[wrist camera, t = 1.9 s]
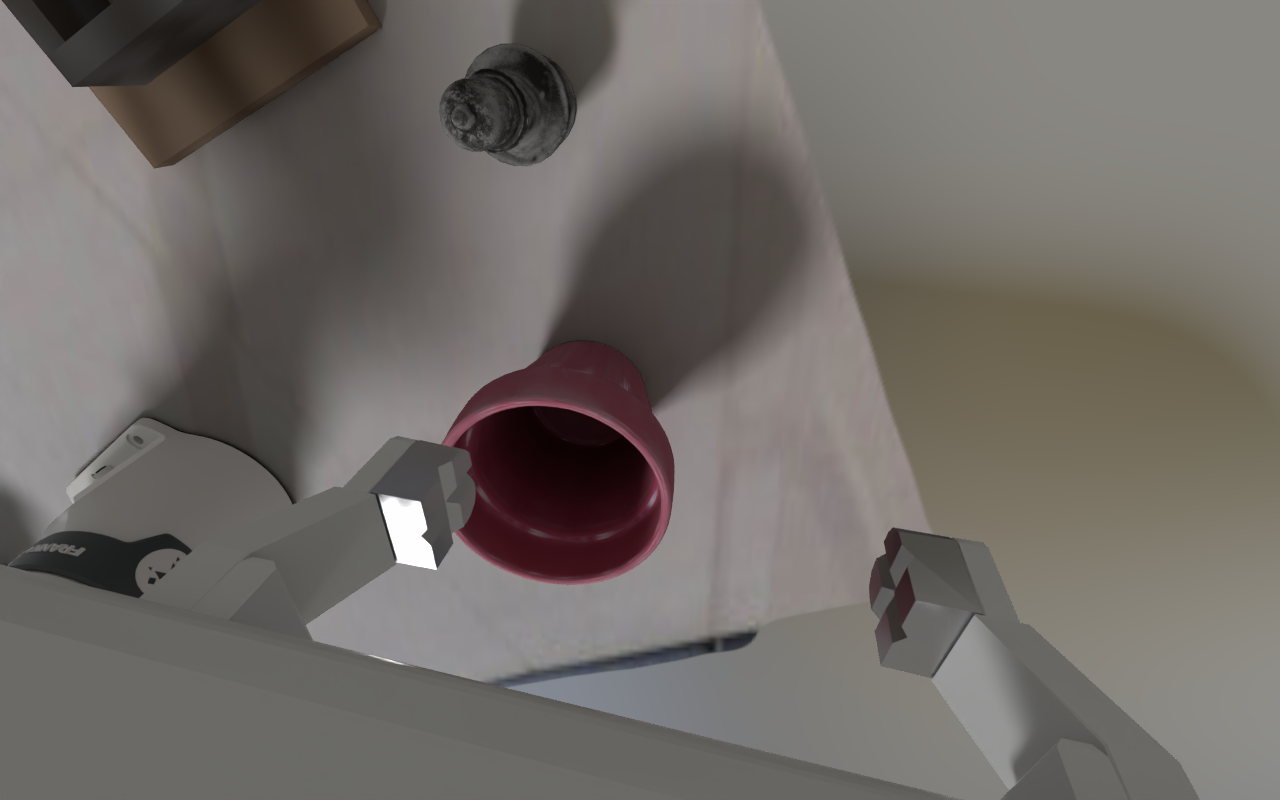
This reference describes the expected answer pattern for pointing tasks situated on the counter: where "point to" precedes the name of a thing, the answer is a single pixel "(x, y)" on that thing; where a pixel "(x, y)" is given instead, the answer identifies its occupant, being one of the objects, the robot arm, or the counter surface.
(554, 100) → the dark grey tall piece
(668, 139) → the counter surface
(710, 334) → the counter surface
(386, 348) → the counter surface
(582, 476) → the plant pot
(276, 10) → the socket holder
